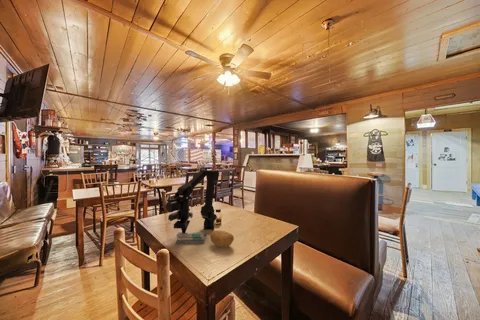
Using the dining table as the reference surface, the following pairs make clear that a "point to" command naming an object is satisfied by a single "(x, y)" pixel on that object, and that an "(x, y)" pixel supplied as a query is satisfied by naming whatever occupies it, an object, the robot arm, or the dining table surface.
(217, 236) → the potato
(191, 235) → the tong arm
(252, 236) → the dining table surface
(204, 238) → the slate board
